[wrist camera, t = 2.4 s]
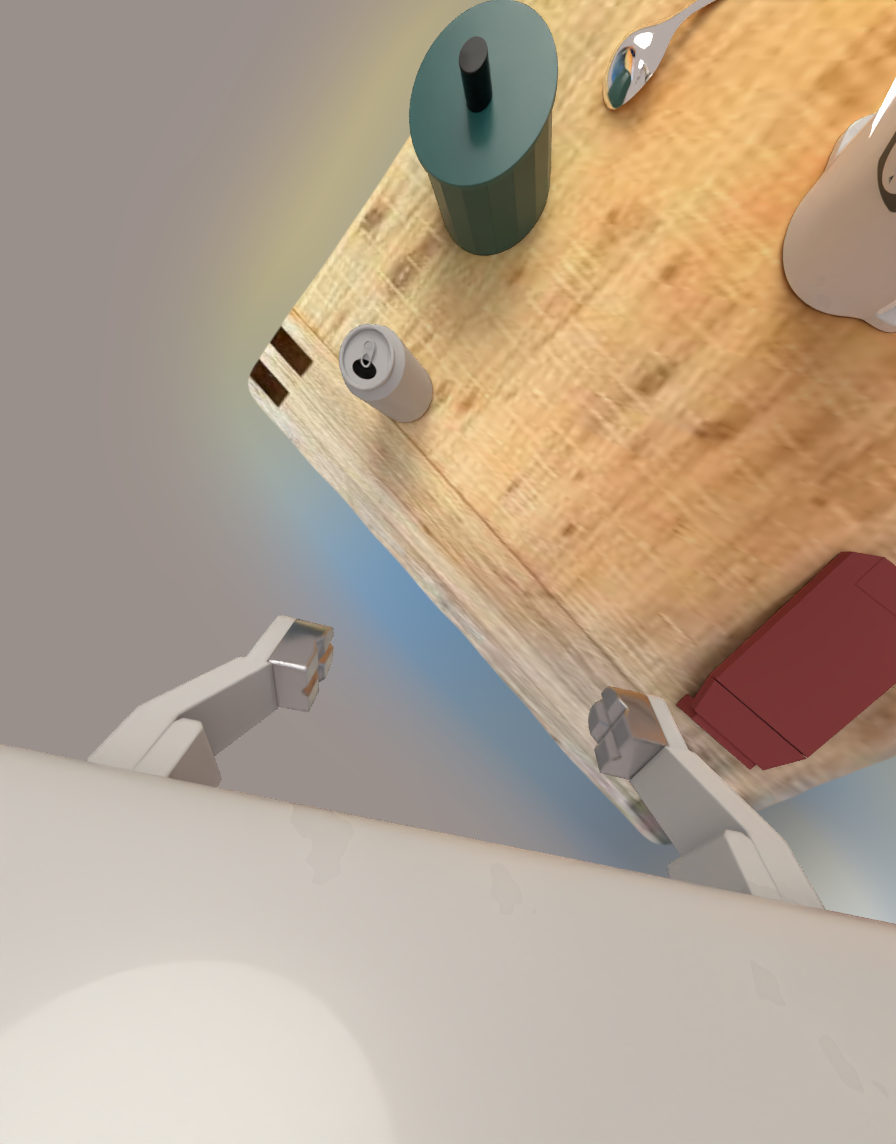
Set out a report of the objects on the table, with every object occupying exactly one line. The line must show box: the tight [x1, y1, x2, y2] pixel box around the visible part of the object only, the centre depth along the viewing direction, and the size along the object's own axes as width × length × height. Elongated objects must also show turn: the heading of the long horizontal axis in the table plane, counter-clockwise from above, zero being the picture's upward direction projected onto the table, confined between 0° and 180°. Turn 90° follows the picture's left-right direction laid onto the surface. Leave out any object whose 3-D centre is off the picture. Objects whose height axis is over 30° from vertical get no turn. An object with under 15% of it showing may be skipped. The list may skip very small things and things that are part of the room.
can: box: [339, 324, 433, 423], centre depth 41 cm, size 8×8×12 cm
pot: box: [428, 112, 552, 255], centre depth 36 cm, size 12×12×10 cm
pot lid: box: [409, 0, 558, 190], centre depth 30 cm, size 13×13×4 cm
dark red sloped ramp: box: [676, 552, 896, 770], centre depth 39 cm, size 12×5×25 cm
